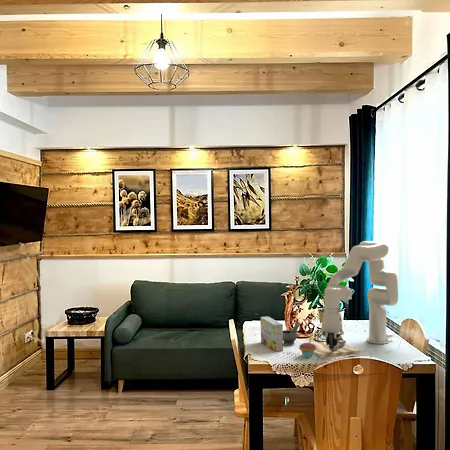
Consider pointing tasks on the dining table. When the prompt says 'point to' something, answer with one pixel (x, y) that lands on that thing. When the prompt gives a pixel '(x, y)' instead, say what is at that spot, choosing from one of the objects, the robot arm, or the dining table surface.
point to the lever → (331, 337)
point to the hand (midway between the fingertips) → (331, 344)
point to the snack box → (272, 333)
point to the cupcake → (307, 348)
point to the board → (325, 351)
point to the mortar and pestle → (290, 335)
